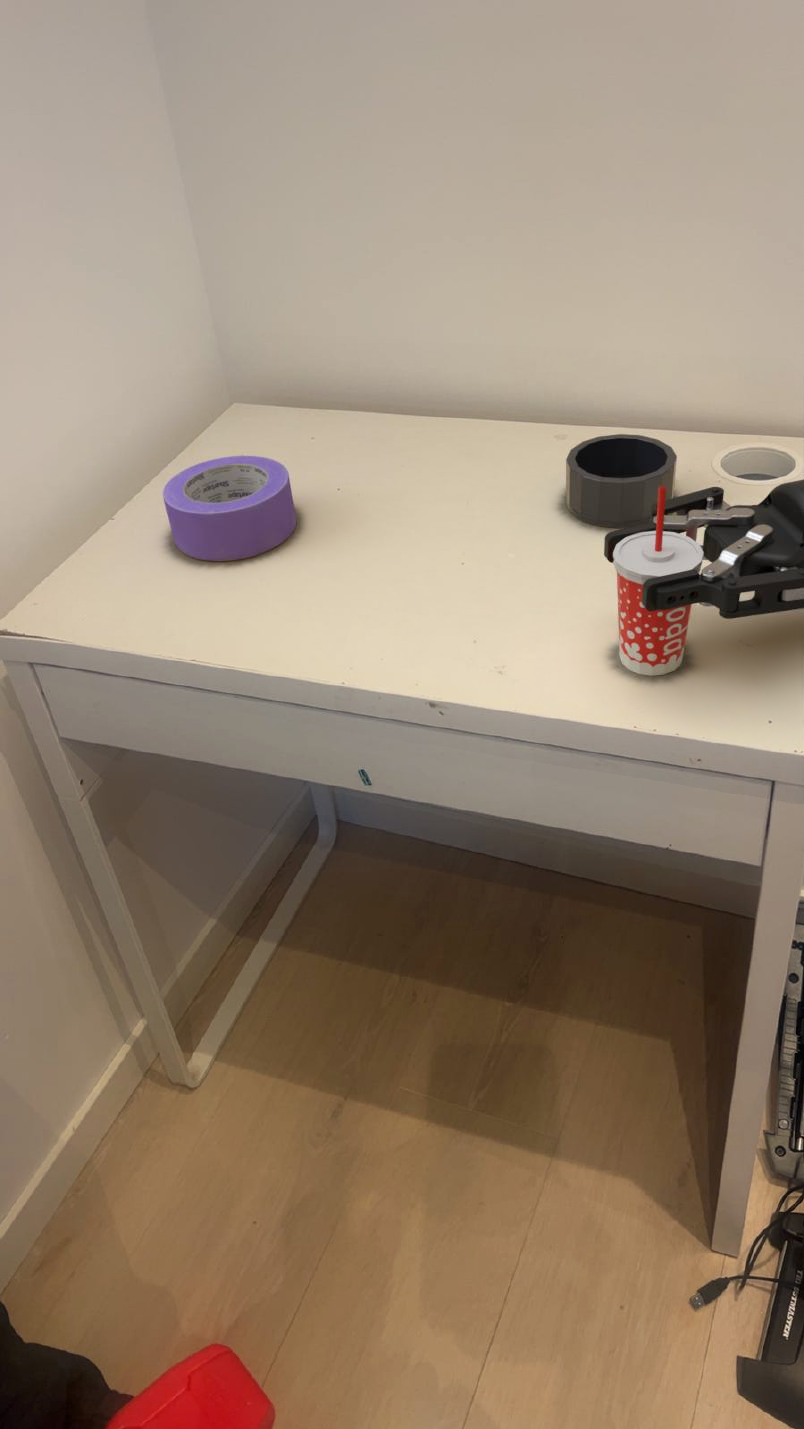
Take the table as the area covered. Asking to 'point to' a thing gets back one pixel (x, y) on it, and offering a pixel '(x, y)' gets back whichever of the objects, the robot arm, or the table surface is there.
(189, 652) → the table surface
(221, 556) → the tape roll
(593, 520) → the socket
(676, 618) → the beverage cup
